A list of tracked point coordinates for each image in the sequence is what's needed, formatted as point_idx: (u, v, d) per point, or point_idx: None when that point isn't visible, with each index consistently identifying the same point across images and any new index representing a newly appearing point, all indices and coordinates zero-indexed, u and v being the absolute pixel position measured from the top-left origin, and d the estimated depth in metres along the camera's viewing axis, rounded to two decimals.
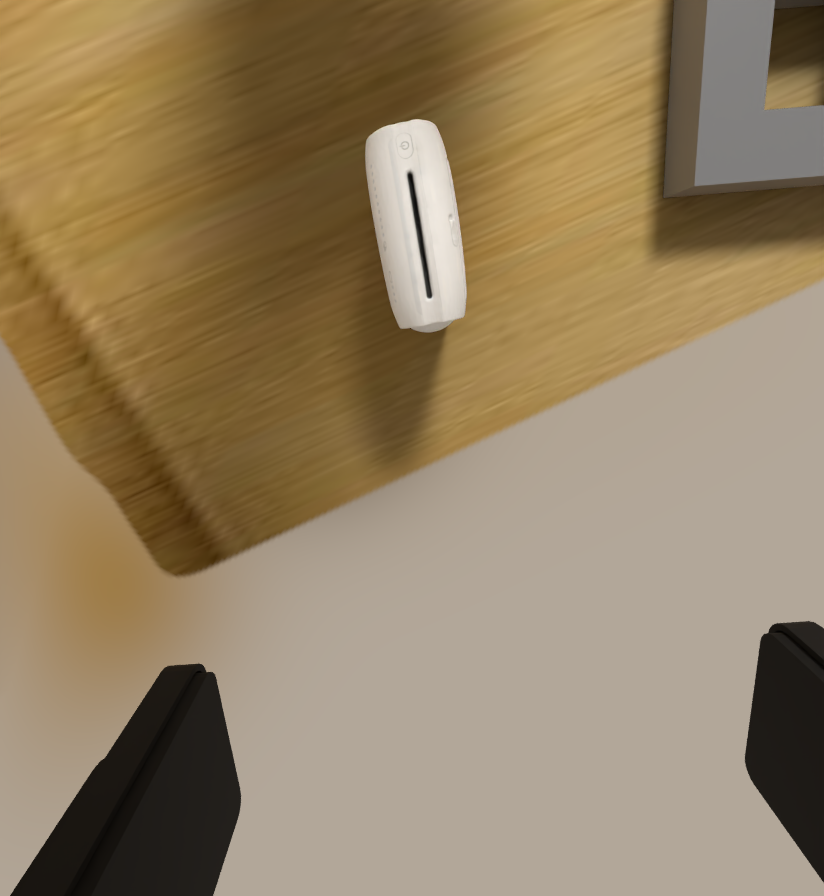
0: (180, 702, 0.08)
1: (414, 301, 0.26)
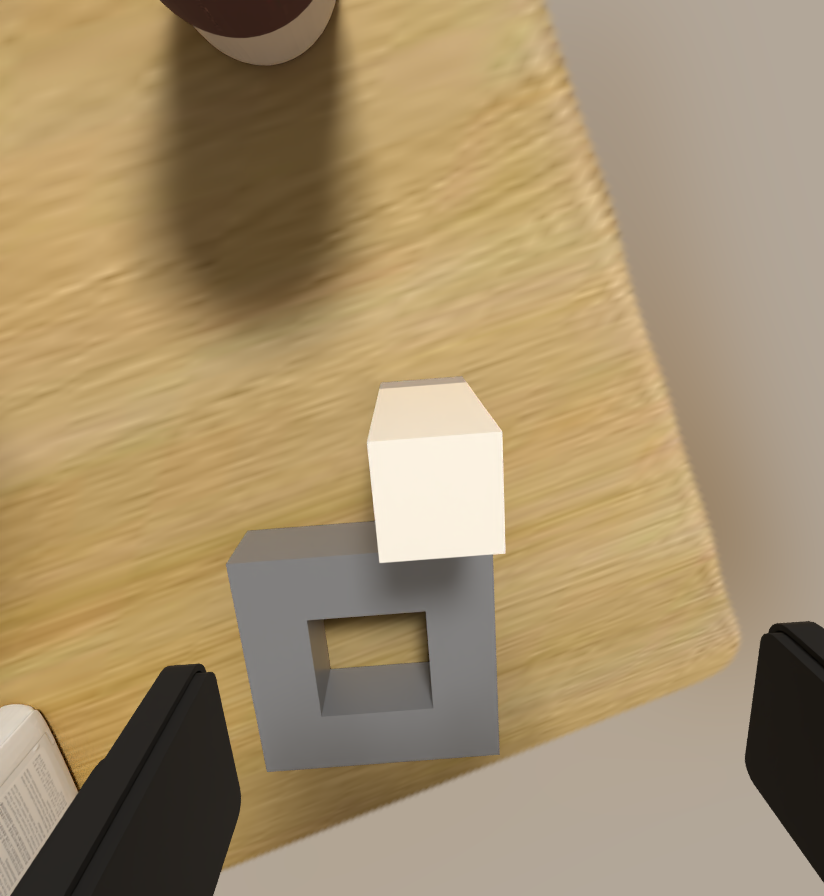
0: (180, 702, 0.08)
1: None
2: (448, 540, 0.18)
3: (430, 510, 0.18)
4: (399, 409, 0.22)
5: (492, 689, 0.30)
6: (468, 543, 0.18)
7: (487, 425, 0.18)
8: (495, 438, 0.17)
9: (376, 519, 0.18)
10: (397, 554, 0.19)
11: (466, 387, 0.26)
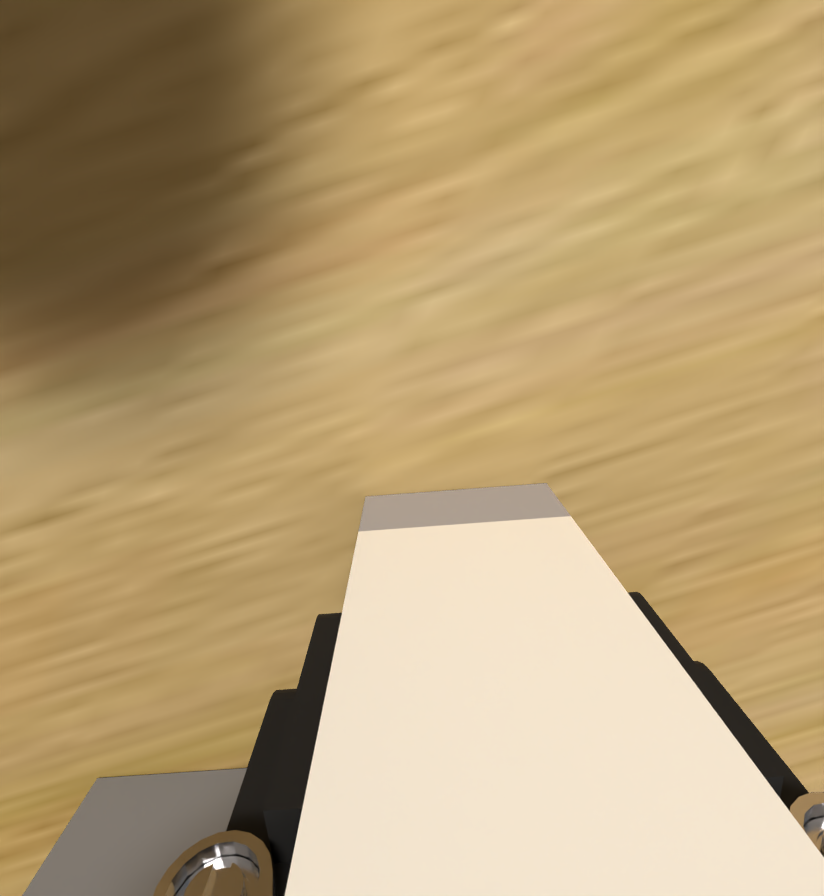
0: None
1: None
2: None
3: None
4: (410, 727, 0.06)
5: None
6: None
7: None
8: None
9: None
10: None
11: (585, 548, 0.10)
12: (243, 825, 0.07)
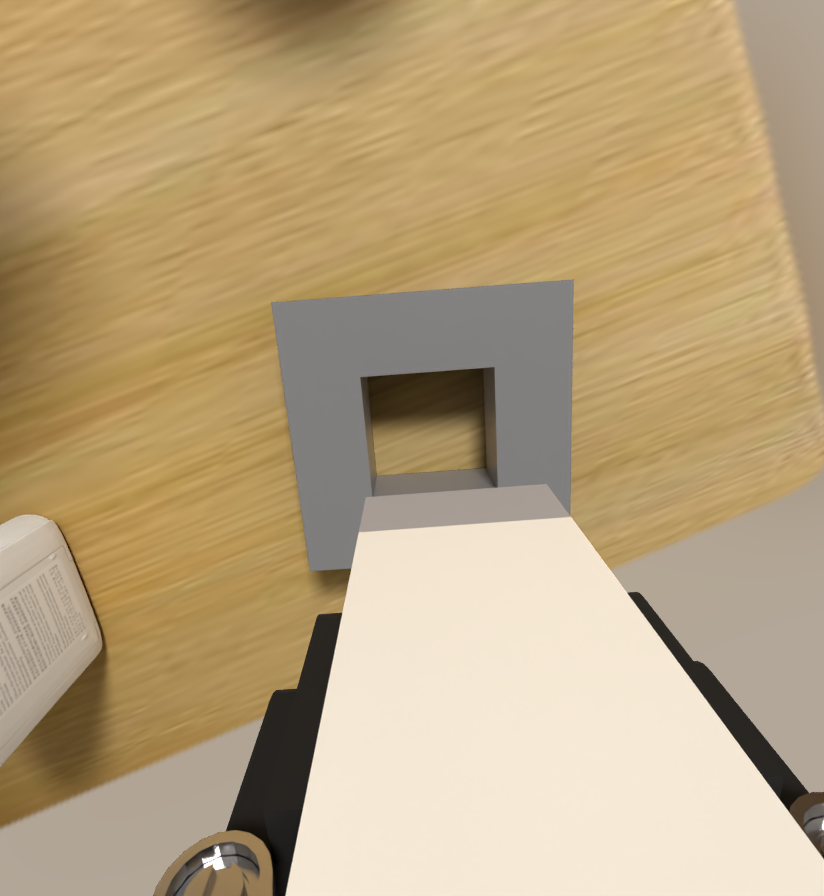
0: None
1: None
2: None
3: None
4: (410, 729, 0.06)
5: (565, 469, 0.27)
6: None
7: None
8: None
9: None
10: None
11: (585, 549, 0.10)
12: (243, 825, 0.07)
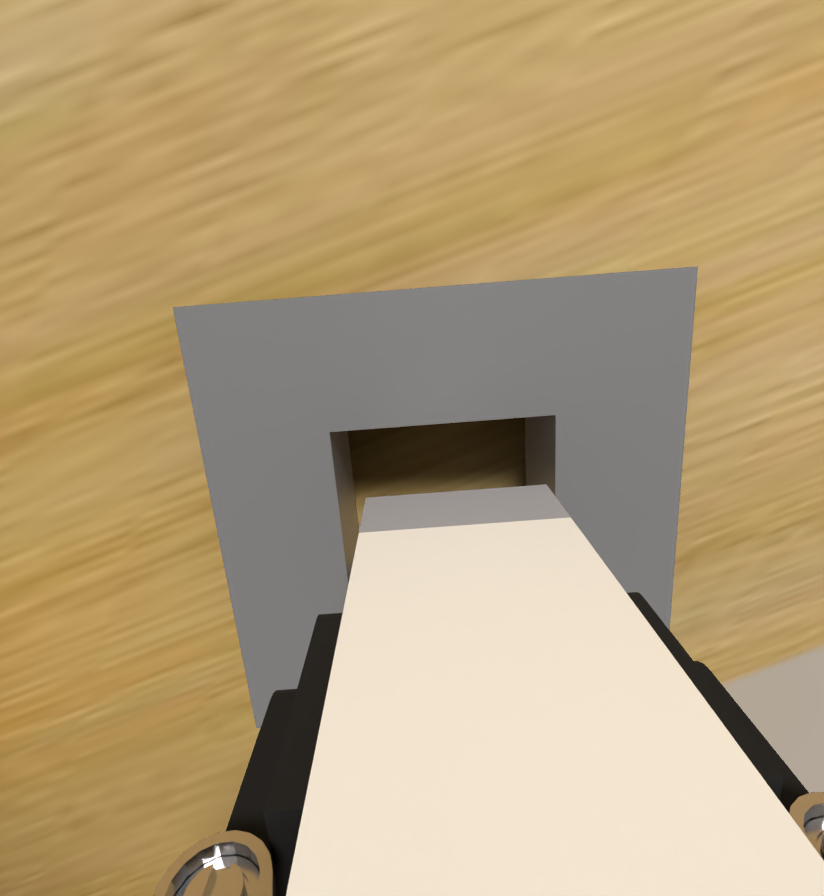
0: None
1: None
2: None
3: None
4: (410, 729, 0.06)
5: (664, 575, 0.16)
6: None
7: None
8: None
9: None
10: None
11: (585, 550, 0.10)
12: (243, 825, 0.07)
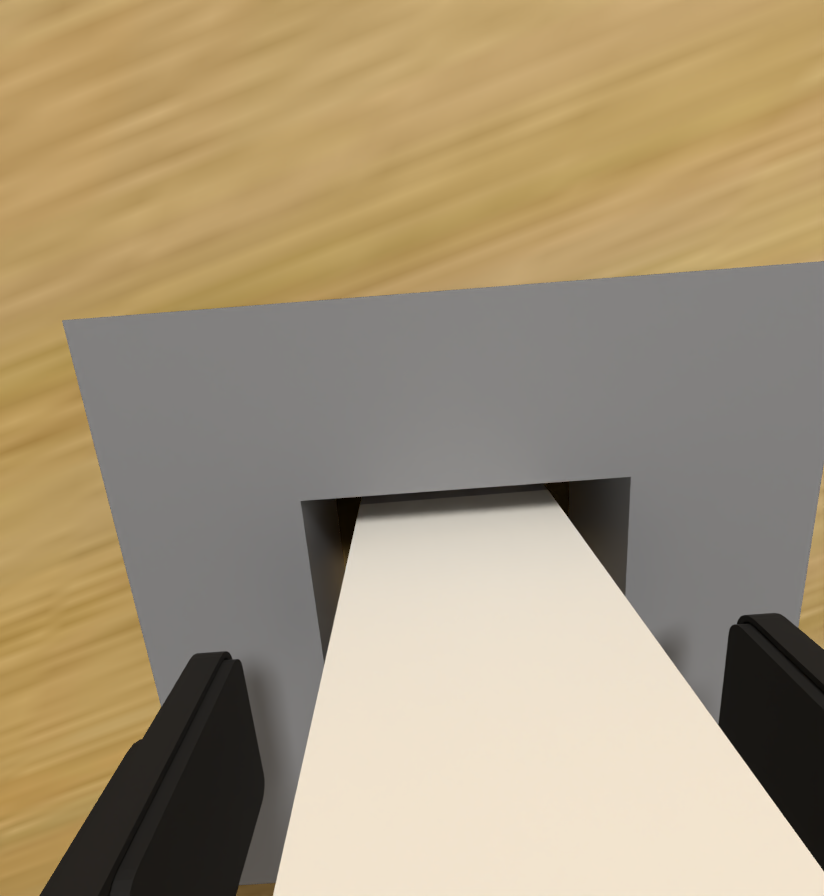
0: (210, 687, 0.08)
1: None
2: None
3: None
4: (402, 643, 0.07)
5: None
6: None
7: None
8: None
9: None
10: None
11: (557, 515, 0.11)
12: None
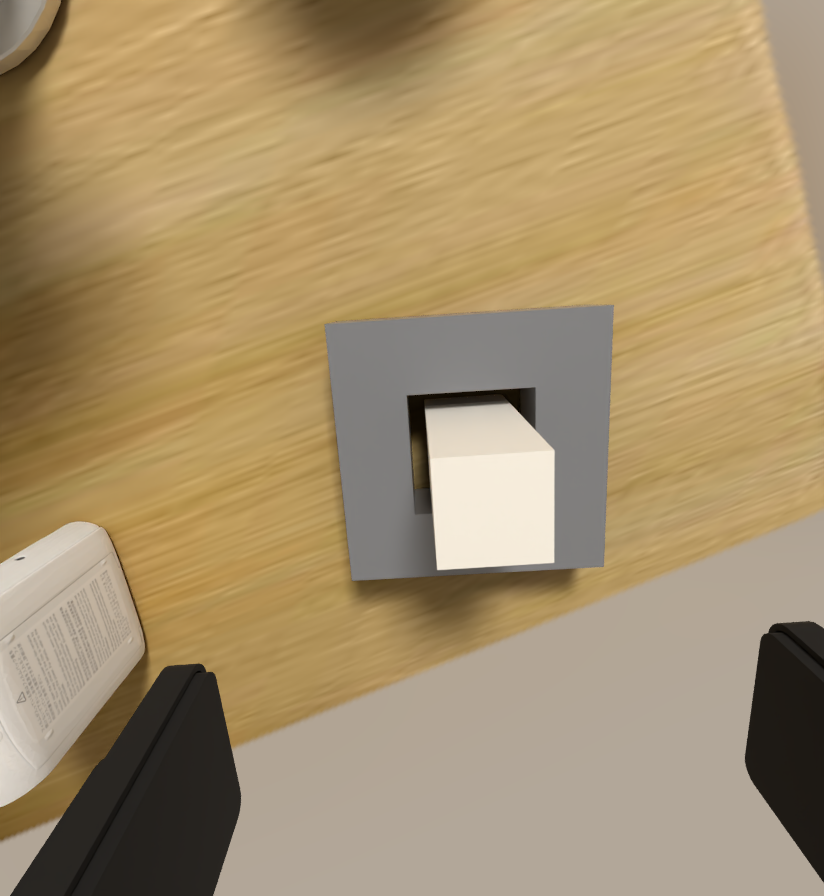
0: (180, 702, 0.08)
1: None
2: (501, 549, 0.20)
3: (486, 522, 0.20)
4: (450, 427, 0.23)
5: (601, 485, 0.28)
6: (520, 553, 0.20)
7: (538, 444, 0.20)
8: (548, 456, 0.19)
9: (436, 529, 0.20)
10: (453, 562, 0.20)
11: (508, 405, 0.27)
12: None
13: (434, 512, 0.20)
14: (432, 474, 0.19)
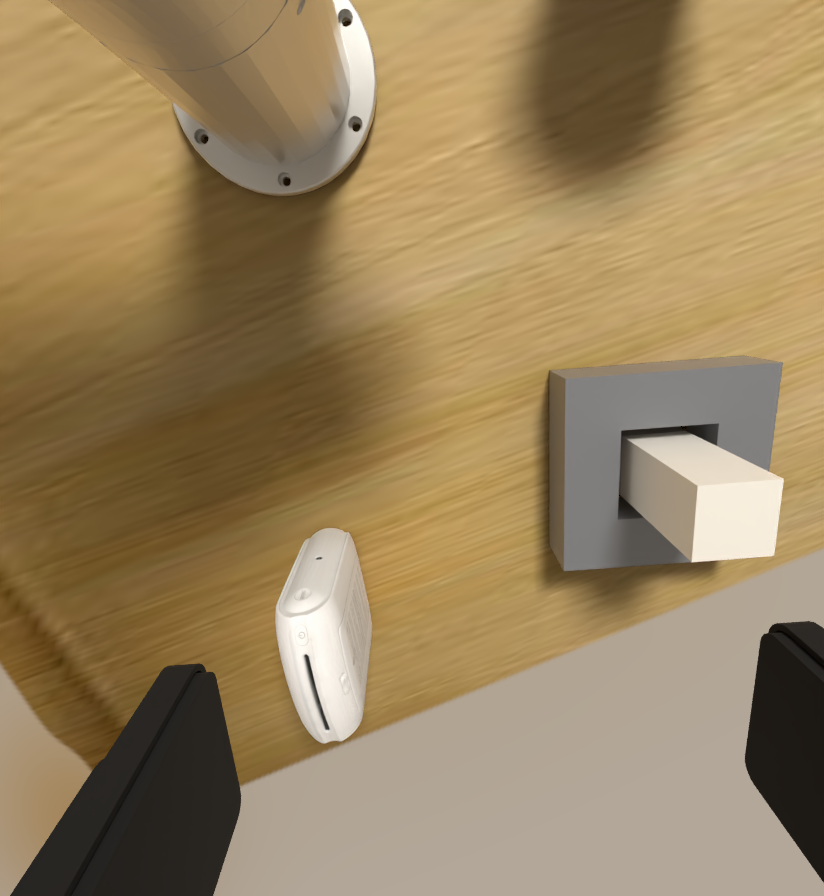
0: (180, 702, 0.08)
1: (315, 732, 0.32)
2: (738, 547, 0.28)
3: (730, 528, 0.28)
4: (674, 457, 0.32)
5: None
6: (751, 549, 0.29)
7: (765, 473, 0.28)
8: (778, 483, 0.27)
9: (695, 534, 0.28)
10: (703, 556, 0.29)
11: (694, 436, 0.36)
12: None
13: (695, 522, 0.28)
14: (697, 496, 0.28)
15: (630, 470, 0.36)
